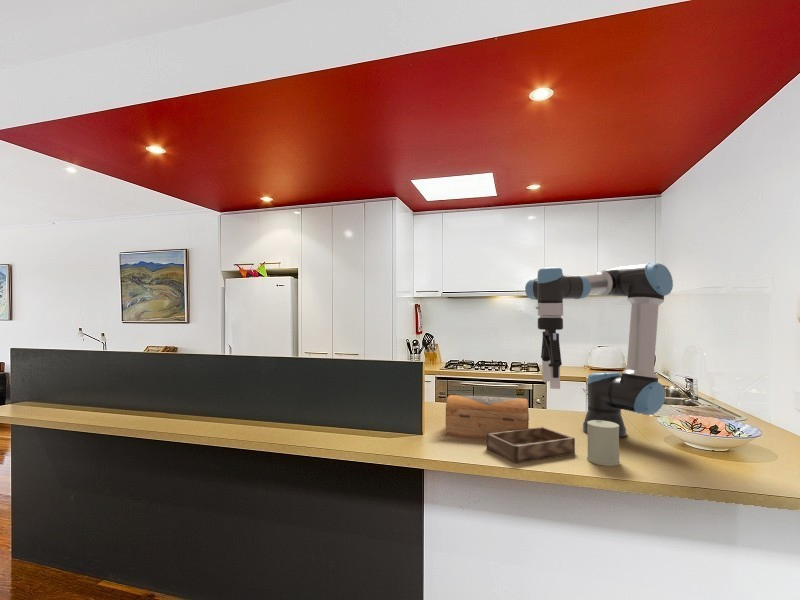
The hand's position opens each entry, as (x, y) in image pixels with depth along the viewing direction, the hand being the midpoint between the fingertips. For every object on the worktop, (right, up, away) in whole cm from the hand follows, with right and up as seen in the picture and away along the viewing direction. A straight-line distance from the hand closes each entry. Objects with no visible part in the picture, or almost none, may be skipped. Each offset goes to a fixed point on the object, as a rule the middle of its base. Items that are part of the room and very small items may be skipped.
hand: (550, 384), depth 134 cm
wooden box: (-14, -25, +29) cm, 41 cm away
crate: (-4, -24, +8) cm, 25 cm away
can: (+16, -24, -1) cm, 29 cm away
